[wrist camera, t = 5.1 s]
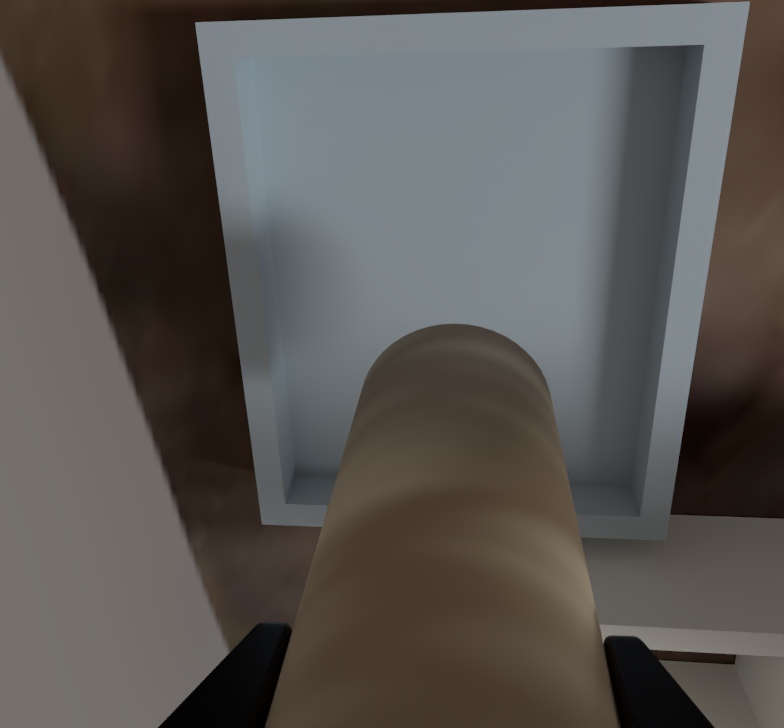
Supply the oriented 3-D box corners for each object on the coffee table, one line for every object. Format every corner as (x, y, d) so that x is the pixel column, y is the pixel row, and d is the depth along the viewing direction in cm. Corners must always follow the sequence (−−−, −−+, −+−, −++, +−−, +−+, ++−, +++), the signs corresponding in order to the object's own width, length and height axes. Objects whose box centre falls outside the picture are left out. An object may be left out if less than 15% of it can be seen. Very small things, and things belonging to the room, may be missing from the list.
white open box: (794, 519, 23) (869, 638, 19) (753, 682, 26) (810, 818, 22) (563, 510, 24) (582, 623, 20) (550, 669, 27) (564, 798, 23)
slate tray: (715, 3, 18) (750, 1, 15) (647, 490, 23) (665, 540, 21) (228, 21, 19) (195, 22, 17) (281, 478, 25) (261, 524, 23)
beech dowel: (556, 322, 14) (753, 1017, 4) (547, 492, 16) (672, 1267, 6) (353, 324, 15) (117, 958, 5) (365, 489, 16) (207, 1209, 7)
